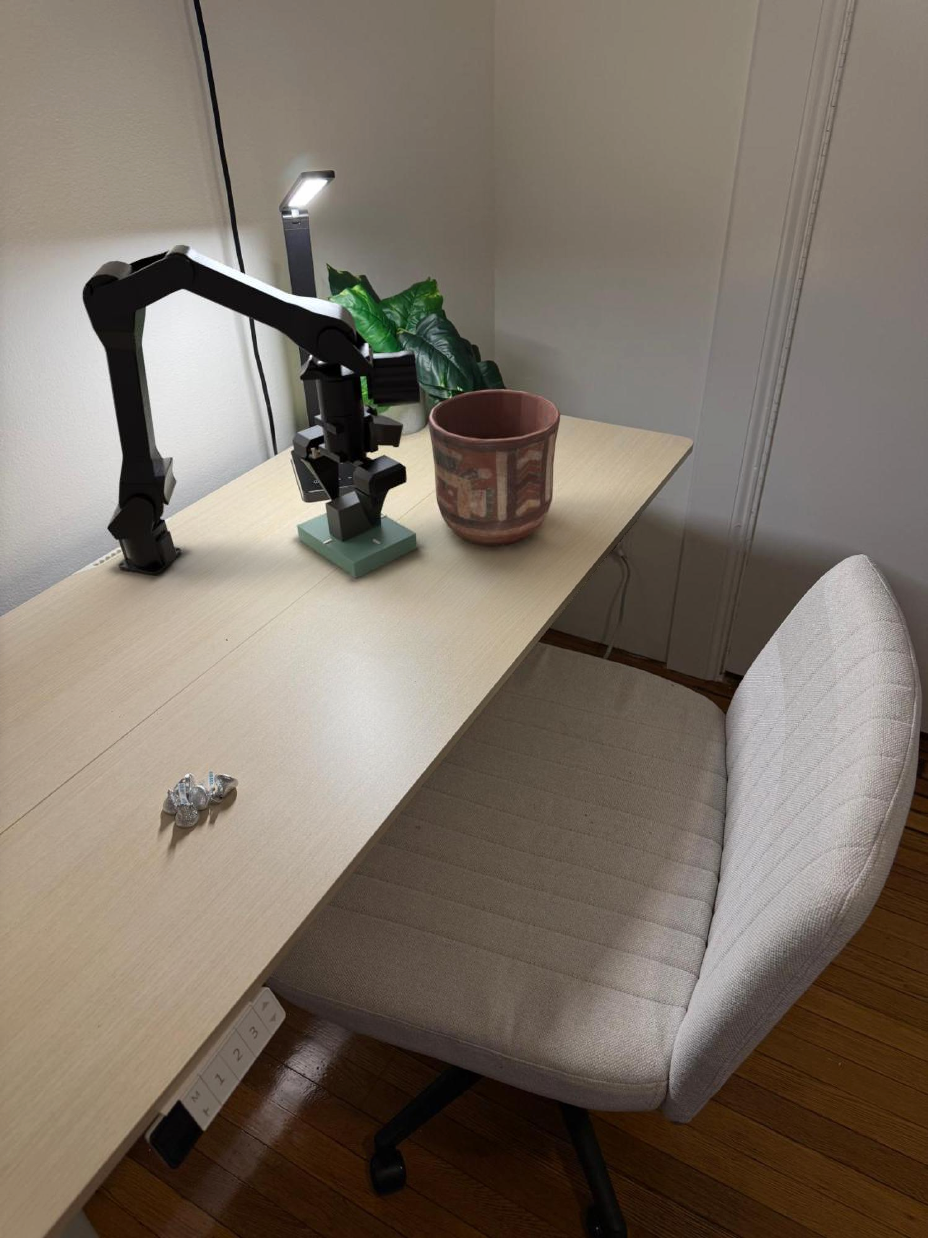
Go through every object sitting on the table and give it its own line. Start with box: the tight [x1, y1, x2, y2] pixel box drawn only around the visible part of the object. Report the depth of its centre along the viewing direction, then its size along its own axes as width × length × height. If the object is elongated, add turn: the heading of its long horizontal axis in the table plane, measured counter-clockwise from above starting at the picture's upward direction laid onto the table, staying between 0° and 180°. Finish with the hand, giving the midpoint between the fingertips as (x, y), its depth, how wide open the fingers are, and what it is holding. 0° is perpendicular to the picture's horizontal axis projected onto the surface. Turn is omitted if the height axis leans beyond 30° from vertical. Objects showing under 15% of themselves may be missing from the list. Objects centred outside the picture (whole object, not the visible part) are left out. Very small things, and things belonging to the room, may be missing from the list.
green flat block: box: [296, 512, 418, 579], centre depth 119 cm, size 14×11×3 cm
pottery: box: [428, 389, 561, 547], centre depth 117 cm, size 18×18×18 cm
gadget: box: [324, 490, 381, 542], centre depth 116 cm, size 7×3×5 cm, turn 132°
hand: (354, 512), depth 116 cm, fingers open, 9 cm apart
